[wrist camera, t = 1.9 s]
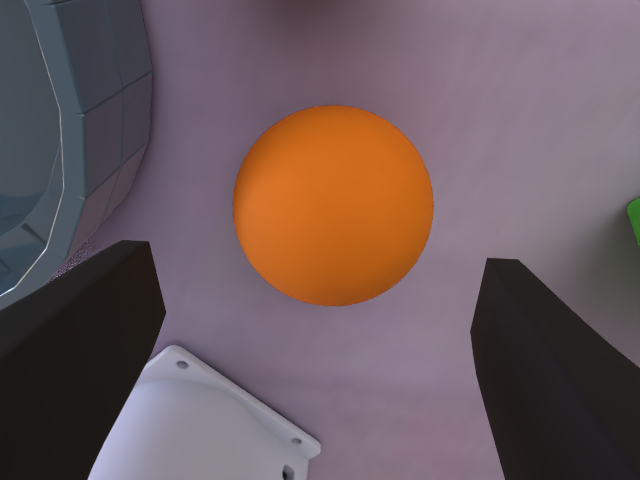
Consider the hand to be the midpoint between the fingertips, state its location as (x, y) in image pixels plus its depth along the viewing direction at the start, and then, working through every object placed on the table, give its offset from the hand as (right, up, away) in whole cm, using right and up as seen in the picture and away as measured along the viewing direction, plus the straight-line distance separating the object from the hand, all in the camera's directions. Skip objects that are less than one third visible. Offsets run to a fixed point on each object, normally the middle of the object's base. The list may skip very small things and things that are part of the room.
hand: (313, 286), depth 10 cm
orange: (0, +2, +3) cm, 4 cm away
